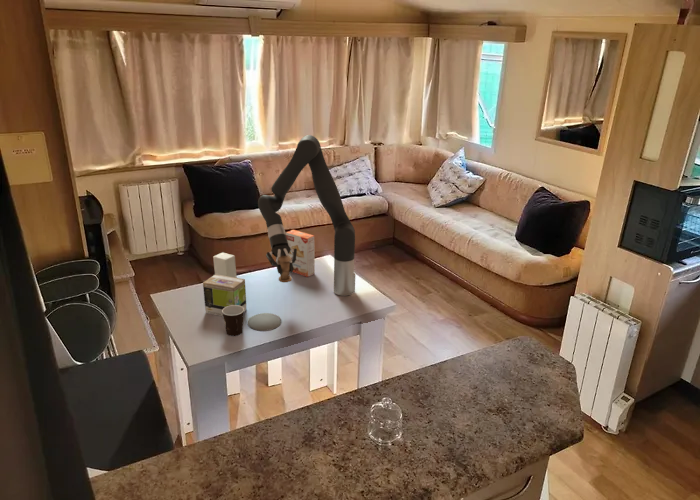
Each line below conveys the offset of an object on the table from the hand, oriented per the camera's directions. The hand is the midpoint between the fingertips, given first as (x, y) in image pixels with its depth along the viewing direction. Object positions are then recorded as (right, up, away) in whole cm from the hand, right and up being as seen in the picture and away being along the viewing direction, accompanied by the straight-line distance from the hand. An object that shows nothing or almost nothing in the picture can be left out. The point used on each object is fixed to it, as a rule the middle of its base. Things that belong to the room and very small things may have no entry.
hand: (286, 272), depth 230 cm
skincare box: (-32, -8, +27) cm, 43 cm away
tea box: (-27, -17, +4) cm, 32 cm away
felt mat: (-9, -21, -4) cm, 23 cm away
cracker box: (+2, -2, +44) cm, 44 cm away
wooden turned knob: (-1, -3, +3) cm, 5 cm away
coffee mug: (-20, -24, -13) cm, 34 cm away
